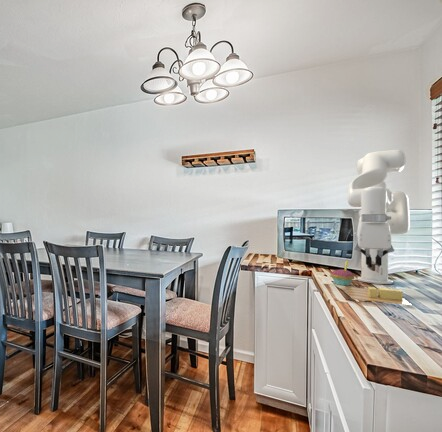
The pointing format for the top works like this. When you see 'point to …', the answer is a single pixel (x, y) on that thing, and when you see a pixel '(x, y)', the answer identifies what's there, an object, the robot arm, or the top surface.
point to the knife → (375, 268)
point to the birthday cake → (342, 276)
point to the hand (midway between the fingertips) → (373, 266)
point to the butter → (390, 293)
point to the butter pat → (372, 292)
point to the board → (363, 295)
